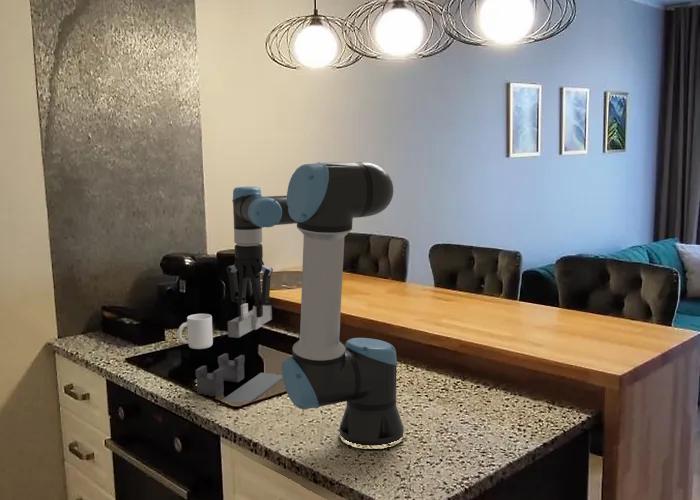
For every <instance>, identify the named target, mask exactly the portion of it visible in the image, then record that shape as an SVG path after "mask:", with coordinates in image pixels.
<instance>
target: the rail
mask: <svg viewBox="0 0 700 500" xmlns="http://www.w3.org/2000/svg"><path fill="white" fill-rule="evenodd" d="M271 320H273V309H272V305H270V304H263V316H262V317H260V326H262V325H264V324H266V323H268V322H270V321H271ZM252 331H254V325H253V309H251V310H248V312H247V313H245V314H243V315H241V316H239V315H238V316H237V317H235V318H233V319H231V320H228V321H227V336H228V338H234V339H235V338H237V339H239V338H241V337H243V336H245V335H247V334H248V333H250V332H252Z"/></svg>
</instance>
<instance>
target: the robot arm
mask: <svg viewBox="0 0 700 500" xmlns="http://www.w3.org/2000/svg"><path fill="white" fill-rule="evenodd" d="M232 191H233V192H232V206H233V208H232V209H233V210H232V211H233V212H232V213H233V232H234V233H233V234H234V235H233V237H234V239H233V241H234V243H235V245H234V258H235V260H234V264H233V265H229V266H226V268H225V271H226V273H227V276H228V281H229V283H228V284H229V290H230V291H229V292H230V300H231V302H232V303H236V304H237V308H238V309H237V311H238V312H237V313H238V317H239V316H241V315H243V314H245V313H247V312H249V303H246V302H247V300H246V296H247V288H248V281H249V280H250V283H251V286H252V292H253V297H254V303H255V304H254V305H253V306H252V310H253V325H254V329H253V331H254V330H255V331H256V330H258V329H260V328H261V326H262V325H261V326H260V317H262V316H263V305H267V303H269V302H270V291H271V289H270V288H271V276H272V274H273V272H274V269H273V268H272V267H267V266H266V265H265V263H264V260H263V255H264V254H263V244H262V242H263V228H273V227H274V226H279V225H280V226H282V225H284V226H285V225H292V224H296V228H297V229H298V231H300V232H301V234H302V235H303V241H302V242H303V247H302V249H303V250H302V270H301V271H302V273H301V274H302V276H301V304H300V328H299V329H300V330H299V332H300V333H299V340H298V341H295V343H294V344H293V345H292V357H291V356H289V357H287V358H285V359H284V360H283V361H282V363H281V364H282V365H281V375H282V376H283V379H282V381H283V385H284V388H285V391H286V393H287V395H288V398H289V399H290V401H291V402H292V404H293V405H294V406H295V407H296V408H297V409H299V410H308V409H319V408H321V407H325V406H329V405H334V404H335V405H336V404H339V403H344V402H346V407H345V409H344V412H343V415H342V419H341V422H340V424H339V428H338V429H339V432H340V435H341V436H342V437H343V438H344V439H345V440H347V441H349V442H352V443H356V444H361V445H382V444H388V443H391V442H394V441H397V440H399V439H400V438H401V437H402V436H403V433H404V432H405V431H404V429H405V428H404V424H403V422H402V419H401V416H400V412H399V409H398V406H397V367H398V361H397V360H398V358H397V351H396V348H395V346H393V344H391V343H390V342H387V341H385V340H381V339H375V338H367V337H353V338H349V339H347V340H346V342H345V344H343V343H342V342H341V341H340V332H341V331H340V329H341V315H342V313H341V312H342V311H341V309H342V289H343V271H344V257H345V256H344V255H345V254H344V251H345V237H346V236H347V235H348V234H349V233H350V232H351V231H352V230H353V222H354V221H353V220H354V218H355V219H357V218H367V217H371V216H375V215H378V214H380V213H382V212H383V211H384V210H386V209H387V208H388V206H389V205H390V204H391V202H392V200H393V198H394V184H393V181H392V179H391V177H390V175H389V174H388V172H387V171H385V170H384V168H382V167H381V166H379V165H377V164H374V163H372V162H368V161H367V162H366V161H358V162H320V161H319V162H316V163H315V162H313V163H307V164H303V165H300V166H298V167H297V168H296V169H295V171H294V172H293V173H292V174H291V177H290V180H289V182H288V186H287V192H286V195H271V196H270V195H269V196H268V195H267V196H262V190H261V188H260V187H258V186H236V187H234V188H233V190H232ZM237 272H238V274H239V275H238V274H237ZM261 273H262V280H261V275H260V274H261ZM260 280H261V281H262V283H261V281H260ZM238 281H239V282H238ZM339 432H338V433H339Z"/></svg>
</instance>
